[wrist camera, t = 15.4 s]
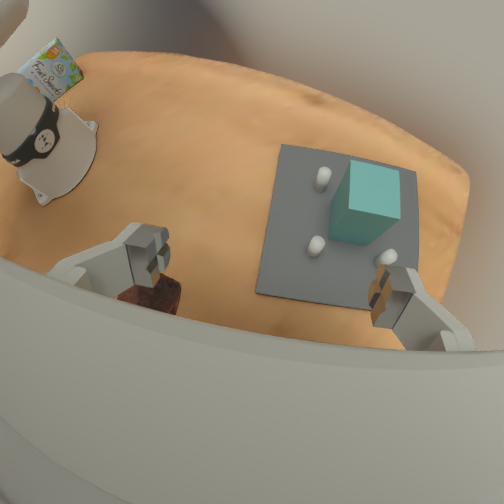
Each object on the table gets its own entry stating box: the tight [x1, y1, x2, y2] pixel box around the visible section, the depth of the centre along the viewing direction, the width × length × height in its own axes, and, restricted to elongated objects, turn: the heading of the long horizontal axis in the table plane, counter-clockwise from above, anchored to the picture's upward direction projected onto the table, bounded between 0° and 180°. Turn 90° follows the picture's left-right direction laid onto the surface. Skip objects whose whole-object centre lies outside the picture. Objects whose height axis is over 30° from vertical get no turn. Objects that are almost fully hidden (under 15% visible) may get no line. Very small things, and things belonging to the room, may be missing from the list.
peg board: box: [255, 144, 419, 311], centre depth 31 cm, size 20×20×6 cm
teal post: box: [328, 160, 400, 246], centre depth 27 cm, size 5×5×10 cm
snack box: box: [16, 37, 83, 102], centre depth 40 cm, size 21×6×15 cm, turn 120°
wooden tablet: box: [117, 273, 181, 315], centre depth 31 cm, size 26×2×10 cm
